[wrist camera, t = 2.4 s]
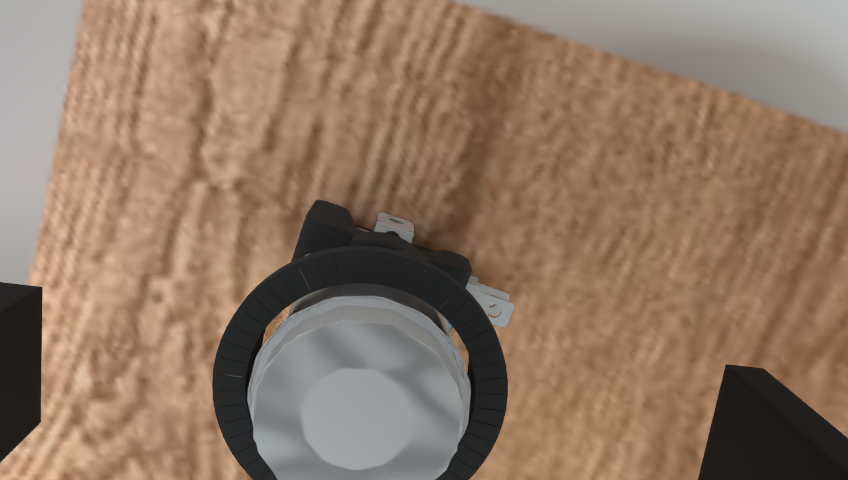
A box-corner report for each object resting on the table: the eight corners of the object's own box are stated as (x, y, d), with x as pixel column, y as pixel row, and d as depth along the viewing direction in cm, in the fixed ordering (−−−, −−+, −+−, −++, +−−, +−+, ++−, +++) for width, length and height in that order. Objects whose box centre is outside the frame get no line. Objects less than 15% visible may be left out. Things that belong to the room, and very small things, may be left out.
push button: (534, 221, 22) (638, 351, 12) (472, 378, 23) (521, 612, 13) (321, 148, 21) (248, 222, 11) (268, 313, 22) (160, 508, 12)
